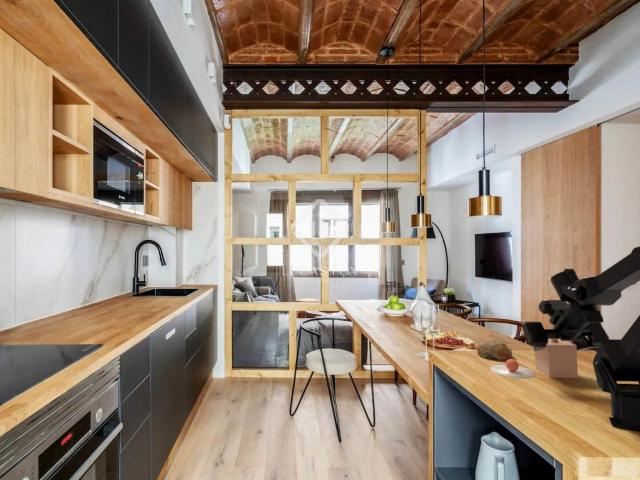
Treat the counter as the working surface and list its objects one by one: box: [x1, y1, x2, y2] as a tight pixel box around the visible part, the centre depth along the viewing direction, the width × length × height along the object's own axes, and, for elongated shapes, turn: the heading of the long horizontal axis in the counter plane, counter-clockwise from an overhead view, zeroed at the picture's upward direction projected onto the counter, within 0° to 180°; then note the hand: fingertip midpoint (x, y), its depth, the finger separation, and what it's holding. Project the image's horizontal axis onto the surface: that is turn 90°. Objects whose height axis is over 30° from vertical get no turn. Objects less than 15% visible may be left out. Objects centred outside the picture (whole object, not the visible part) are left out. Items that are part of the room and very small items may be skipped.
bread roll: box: [477, 338, 513, 362], centre depth 111 cm, size 10×10×8 cm
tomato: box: [505, 358, 520, 371], centre depth 97 cm, size 3×3×3 cm
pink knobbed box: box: [534, 339, 579, 379], centre depth 95 cm, size 7×7×10 cm
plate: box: [490, 364, 537, 379], centre depth 97 cm, size 11×11×1 cm
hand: (552, 349), depth 97 cm, fingers open, 9 cm apart
